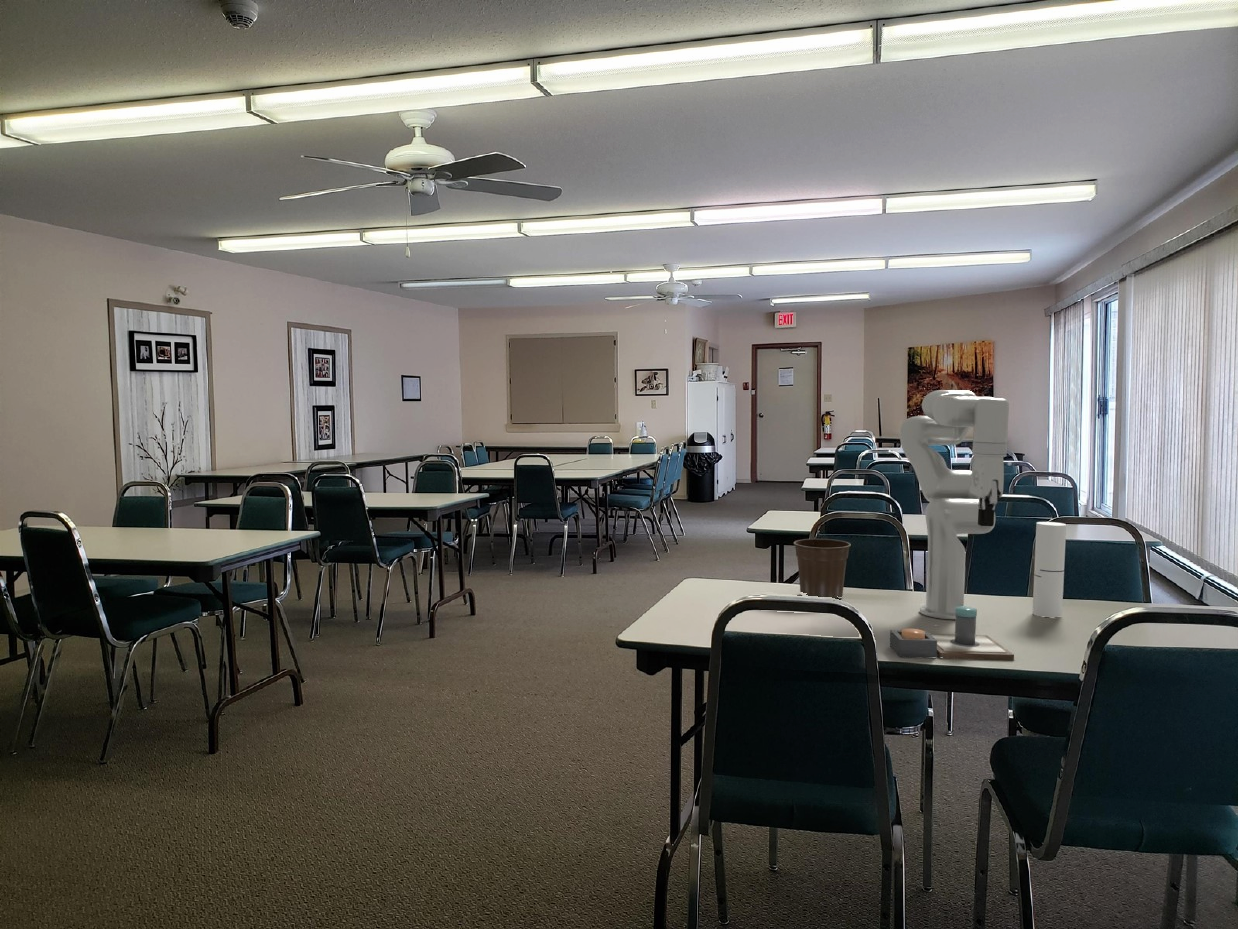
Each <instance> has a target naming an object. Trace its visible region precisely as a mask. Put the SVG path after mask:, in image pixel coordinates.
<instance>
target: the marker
mask: <svg viewBox="0 0 1238 929" xmlns="http://www.w3.org/2000/svg"><path fill="white" fill-rule="evenodd" d="M977 613H978V609H977V608H976V607H972V606H967V605H965V606H958V607H956V608H955V615H956V619H954V620H955V621H954V622H955V625H954V626H955V627H954V634H955V643H958V644H962V645H974V644H975V635H977V634H976V633H977V632H976V631H977V629H976V628H977V625H976V624H977V616H978V614H977Z"/></svg>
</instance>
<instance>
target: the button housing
mask: <svg viewBox="0 0 1238 929" xmlns="http://www.w3.org/2000/svg"><path fill="white" fill-rule="evenodd" d="M923 631H924V632H925V639H911V638H903V637H902V629H889V648H890V649H891V650H892V651H893V652H894V653H895V655H896V656H897V657H899V658H911V657H937V656H938V655H937V640H936V639H935V638H934V637H933V636H931V635H930V634H931V633H929V632H928V631H927V630H923ZM937 658H938V657H937Z"/></svg>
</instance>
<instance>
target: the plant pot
mask: <svg viewBox="0 0 1238 929" xmlns="http://www.w3.org/2000/svg"><path fill="white" fill-rule="evenodd" d="M793 546H795V556H796V557H797V567H798V580H799V592H803V593H807V594H806V595H808V596H818V597H832V598H835V599H836V600H838V599H837V598H838V597H842V596H843V595H844V586H845V585H844V584H845V575H846V566H847V559H848V557H849V550H850V548H851V543H850V542H848V541H844V540H840V539H834V538H833V539H831V538H830V539H829V538H803V539H798V540H795V541H794V542H793ZM837 596H838V597H837ZM843 597H844V596H843ZM843 597H842V598H843Z"/></svg>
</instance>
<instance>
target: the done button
mask: <svg viewBox="0 0 1238 929" xmlns="http://www.w3.org/2000/svg"><path fill="white" fill-rule="evenodd" d="M901 630H902V637H903V638H911V639H925V632H924V631H925V630H922V629H918V628H903V629H901Z"/></svg>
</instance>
